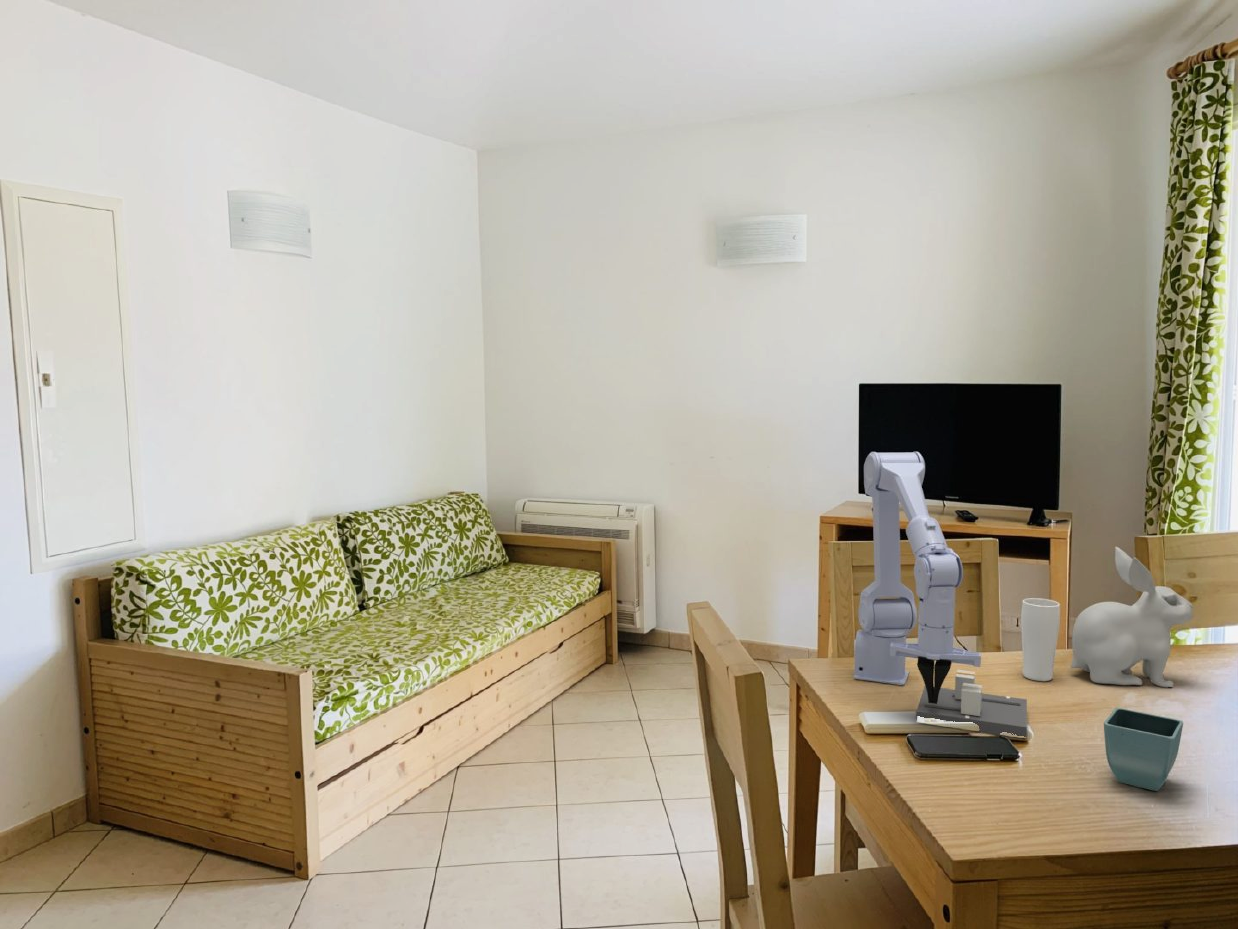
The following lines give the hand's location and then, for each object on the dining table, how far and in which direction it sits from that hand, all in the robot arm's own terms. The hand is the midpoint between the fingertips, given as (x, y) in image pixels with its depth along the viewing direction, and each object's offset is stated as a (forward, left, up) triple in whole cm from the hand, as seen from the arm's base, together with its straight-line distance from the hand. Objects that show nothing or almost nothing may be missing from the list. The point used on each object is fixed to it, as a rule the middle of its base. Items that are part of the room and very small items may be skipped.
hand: (933, 701), depth 155 cm
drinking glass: (+17, +30, -3) cm, 35 cm away
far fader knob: (+5, +7, -1) cm, 8 cm away
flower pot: (+30, -14, -3) cm, 33 cm away
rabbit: (+33, +36, -3) cm, 49 cm away
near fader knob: (+6, 0, -1) cm, 6 cm away
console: (+6, +3, -3) cm, 8 cm away
